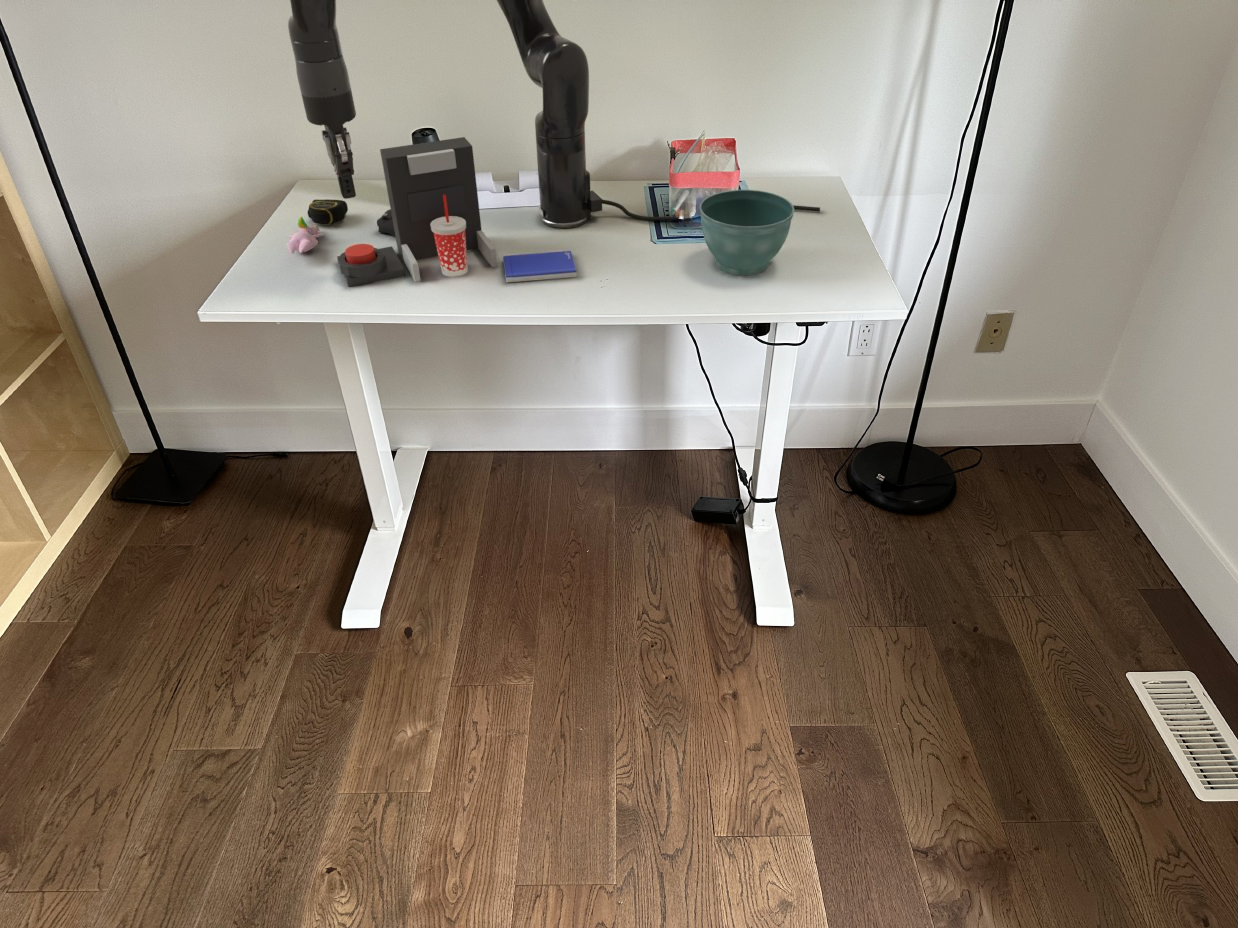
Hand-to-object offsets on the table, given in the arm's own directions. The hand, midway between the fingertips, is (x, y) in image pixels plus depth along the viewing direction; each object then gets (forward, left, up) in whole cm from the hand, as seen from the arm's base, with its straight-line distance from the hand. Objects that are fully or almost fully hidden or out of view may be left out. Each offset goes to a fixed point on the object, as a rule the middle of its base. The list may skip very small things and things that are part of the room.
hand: (348, 196), depth 145 cm
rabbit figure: (+8, -15, -15) cm, 22 cm away
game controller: (-10, -17, -15) cm, 25 cm away
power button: (0, 0, -11) cm, 11 cm away
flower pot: (-63, +24, -15) cm, 69 cm away
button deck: (-1, -1, -14) cm, 15 cm away
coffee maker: (-15, 0, -14) cm, 21 cm away
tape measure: (+2, -27, -15) cm, 31 cm away
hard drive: (-29, +11, -15) cm, 34 cm away
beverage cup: (-15, +5, -15) cm, 21 cm away
